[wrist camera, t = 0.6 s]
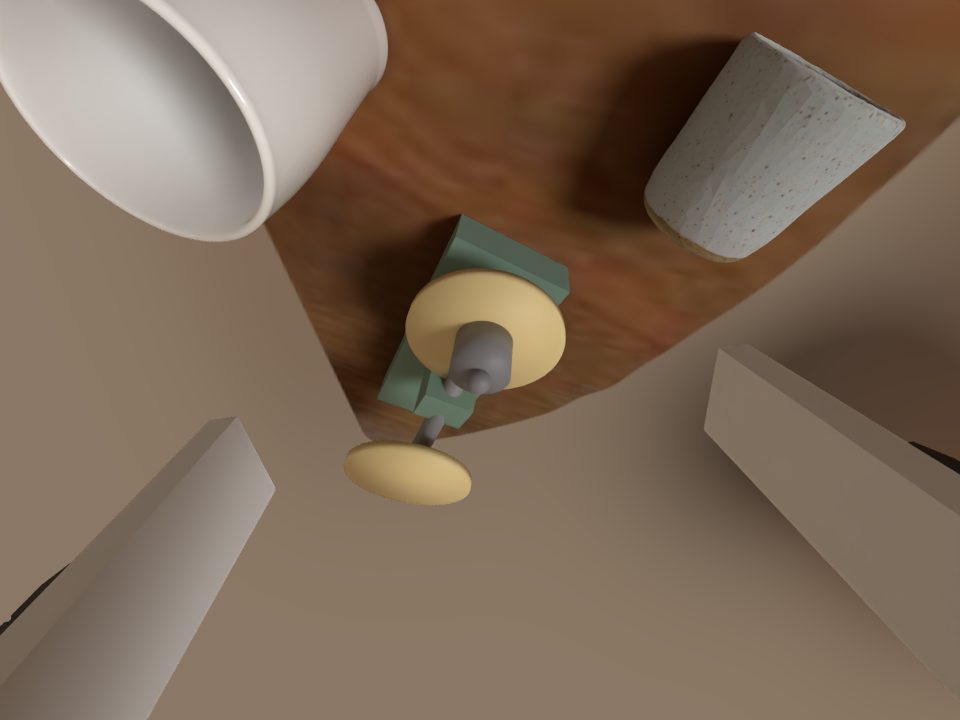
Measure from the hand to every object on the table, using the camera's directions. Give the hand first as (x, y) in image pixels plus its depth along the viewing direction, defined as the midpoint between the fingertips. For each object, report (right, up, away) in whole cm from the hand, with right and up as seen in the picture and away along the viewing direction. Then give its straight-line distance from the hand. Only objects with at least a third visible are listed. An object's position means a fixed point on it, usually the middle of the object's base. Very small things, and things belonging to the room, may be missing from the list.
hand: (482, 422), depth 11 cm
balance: (-2, +4, +25) cm, 25 cm away
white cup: (-7, +19, +9) cm, 22 cm away
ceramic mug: (+15, +14, +11) cm, 24 cm away
